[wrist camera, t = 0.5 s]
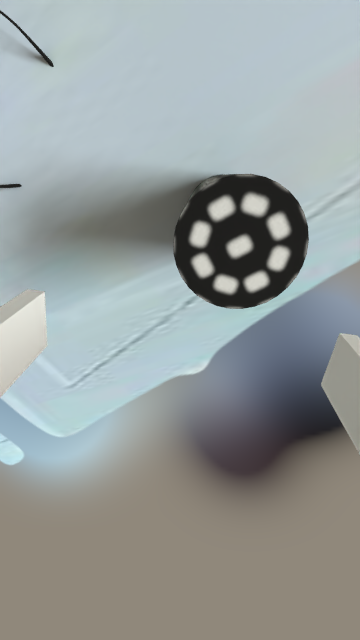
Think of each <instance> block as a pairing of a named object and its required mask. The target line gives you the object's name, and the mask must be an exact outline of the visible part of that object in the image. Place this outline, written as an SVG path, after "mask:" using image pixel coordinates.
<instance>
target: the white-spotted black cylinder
mask: <svg viewBox="0 0 360 640" xmlns="http://www.w3.org/2000/svg"><path fill="white" fill-rule="evenodd" d="M308 241H309V237H308V225H307V222H306V218H305V214H304V212H303V210H302V208H301V206H300V204H299V202H298V201H297V200H296V199H295V197H294V196H293V195H292V194H291V193H290V191H288V190H287V189H286V188H284V187H283V186H282V185H281V184H279V183H278V182H275V181H273V180H271V179H269V178H267V177H263V176H258V175H253V174H230V175H217V176H213V177H211V178H209V179H206V180H205V181H204V182H202V183H201V184H200V185H199V186H198V187H197V188H196V189H195V191H194V192H193V194H192V195H191V197H190V199H189V201H188V202H187V204H186V206H185V208H184V209H183V211H182V213H181V215H180V217H179V220H178V223H177V225H176V229H175V234H174V240H173V243H174V257H175V261H176V266H177V268H178V270H179V273H180V275H181V277H182V279H183V280H184V281H185V283H186V284H187V286H188V287H189V288H190V289H191V290H192V291H193V292H194V293H195V294H196V295H197V296H199V297H200V298H202V299H204V300H205V301H207V302H209V303H211V304H214V305H216V306H220V307H225V308H230V309H243V308H249V307H255V306H257V305H260V304H263V303H266V302H268V301H269V300H271V299H273V298H275V297H276V296H278V295H279V294H280V293H282V292H283V291H284V290H285V289H286V288H287V287H288V286H289V285H290V284H291V283H292V282H293V280H294V279H295V278H296V276H297V275H298V273H299V271H300V269H301V268H302V266H303V263H304V260H305V257H306V254H307V248H308Z"/></svg>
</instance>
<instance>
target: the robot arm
mask: <svg viewBox="0 0 360 640" xmlns="http://www.w3.org/2000/svg"><path fill="white" fill-rule="evenodd" d="M46 347H47V330H46V309H45V291H38V290H30V289H27V290H25V291H24V292H22V293H21V294H19V295H18V296H16V297H15V298H13V299H12V300H10V301H9V302H7V303H6V304H4V305H3V306H1V307H0V398H1V396H2V395H3V394H4V393H5V392H6V391H7V390H8V389H9V388H10V386H11V385H12V384H13V383H14V382H15V381H16V380H17V379H18V378H19V377H20V375H21V374H22V373H23V372H24V371H25V370H26V369H27V368H28V367H29V365H30V364H31V363H32V362H33V361H34V360H35V359H36V358H37V357H38V355H39V354H40V353H41V352H42V351H43V350H44V349H45V348H46ZM321 386H322V387H323V389H324V391H325V393H326V395H327V397H328V398H329V400H330V402H331V404H332V406H333V408H334V409H335V411H336V413H337V415H338V417H339V418H340V420H341V422H342V424H343V425H344V427H345V429H346V431H347V433H348V435H349V436H350V438H351V440H352V442H353V444H354V445H355V447H356V449H357V451H358V452H359V454H360V338H359V337H358V336H357V335H349V334H342V333H340V334H339V336H338V339H337V342H336V345H335V347H334V351H333V353H332V356H331V358H330V361H329V364H328V367H327V369H326V372H325V375H324V377H323V380H322V383H321Z"/></svg>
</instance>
